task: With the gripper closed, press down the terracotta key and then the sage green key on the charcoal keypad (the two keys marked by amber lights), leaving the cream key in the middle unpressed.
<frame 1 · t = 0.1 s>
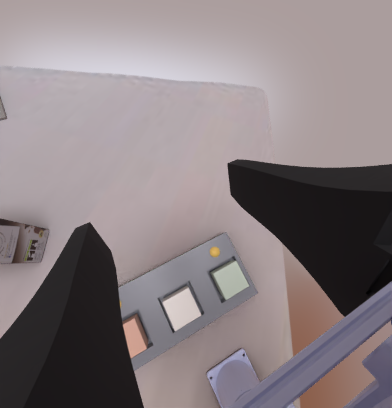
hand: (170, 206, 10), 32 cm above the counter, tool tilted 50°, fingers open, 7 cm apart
keypad: (177, 295, 38), on the counter
sage key: (228, 278, 37), point 3 cm above the counter, slide at 0.0 cm
coffee box: (20, 243, 37), on the counter
terracotta key: (127, 338, 33), point 3 cm above the counter, slide at 0.0 cm
cream key: (181, 306, 35), point 3 cm above the counter, slide at 0.0 cm
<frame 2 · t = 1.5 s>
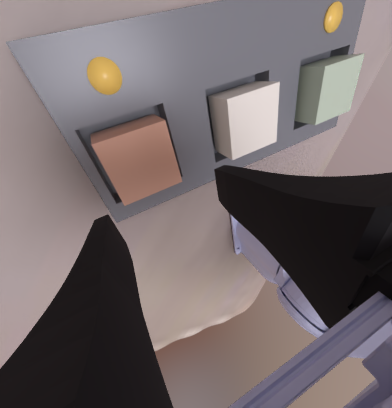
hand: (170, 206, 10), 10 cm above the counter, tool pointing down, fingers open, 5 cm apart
keypad: (224, 99, 19), on the counter
sage key: (324, 90, 20), point 3 cm above the counter, slide at 0.0 cm
terracotta key: (139, 159, 16), point 3 cm above the counter, slide at 0.0 cm
cream key: (244, 120, 18), point 3 cm above the counter, slide at 0.0 cm
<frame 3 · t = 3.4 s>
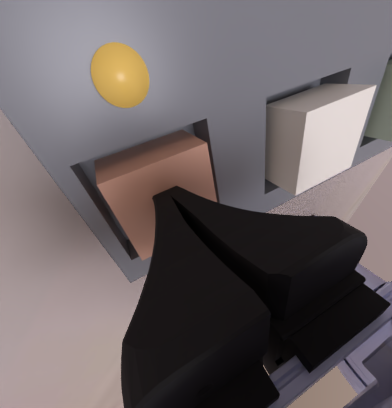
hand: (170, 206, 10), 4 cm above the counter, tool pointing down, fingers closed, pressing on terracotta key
keypad: (277, 108, 14), on the counter
terracotta key: (162, 193, 11), point 2 cm above the counter, slide at 0.9 cm, touching gripper, keypad
cream key: (310, 138, 13), point 3 cm above the counter, slide at 0.0 cm
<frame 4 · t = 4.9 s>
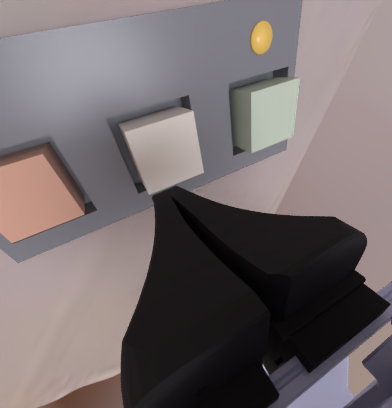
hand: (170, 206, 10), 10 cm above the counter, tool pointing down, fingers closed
keypad: (148, 123, 17), on the counter
sage key: (262, 114, 18), point 3 cm above the counter, slide at 0.0 cm
terracotta key: (30, 191, 14), point 2 cm above the counter, slide at 0.9 cm
cream key: (163, 149, 16), point 3 cm above the counter, slide at 0.0 cm
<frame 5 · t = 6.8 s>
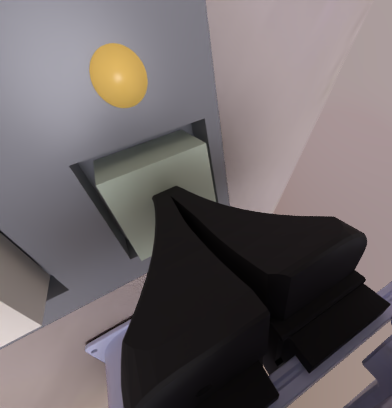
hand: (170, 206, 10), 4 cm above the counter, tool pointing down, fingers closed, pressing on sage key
sage key: (161, 194, 11), point 2 cm above the counter, slide at 0.8 cm, touching gripper
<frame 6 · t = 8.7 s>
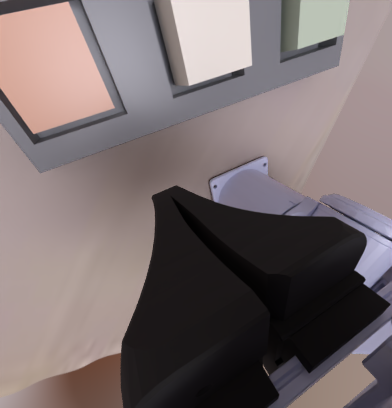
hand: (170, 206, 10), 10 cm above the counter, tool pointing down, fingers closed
keypad: (183, 15, 15), on the counter
sage key: (309, 5, 16), point 2 cm above the counter, slide at 0.9 cm
terracotta key: (53, 74, 12), point 2 cm above the counter, slide at 0.9 cm
cream key: (205, 32, 13), point 3 cm above the counter, slide at 0.0 cm
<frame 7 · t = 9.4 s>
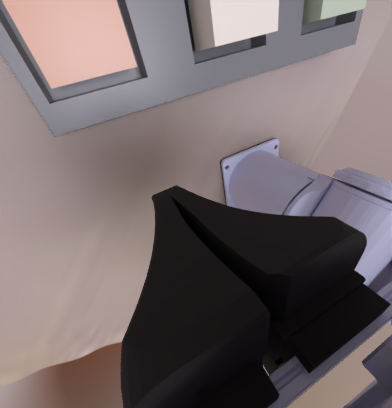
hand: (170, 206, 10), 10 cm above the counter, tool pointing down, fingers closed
terracotta key: (73, 26, 11), point 2 cm above the counter, slide at 0.9 cm
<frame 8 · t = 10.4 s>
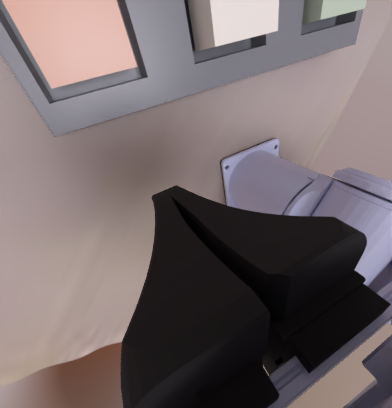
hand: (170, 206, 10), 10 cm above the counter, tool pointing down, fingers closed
terracotta key: (73, 26, 11), point 2 cm above the counter, slide at 0.9 cm
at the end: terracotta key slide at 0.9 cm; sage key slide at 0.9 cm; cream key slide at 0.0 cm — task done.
